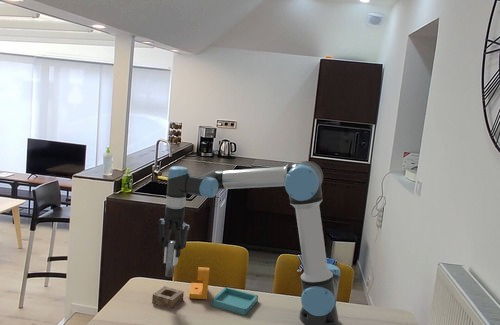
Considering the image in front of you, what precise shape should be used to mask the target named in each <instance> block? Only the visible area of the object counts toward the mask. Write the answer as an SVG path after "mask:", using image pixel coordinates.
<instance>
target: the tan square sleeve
mask: <svg viewBox="0 0 500 325" xmlns="http://www.w3.org/2000/svg"><path fill="white" fill-rule="evenodd" d="M184 294H185V292H184V291H183V290H180V289H176V288H173V287H169V286H166V285H164V286H163V287H161V288H160V289H159V290H157V291H155V292H154V293H153V294H152V298H151V300H152V301H151V303H152V304H155V305H159V306H161V307H165V308H169V309H173V308H175V307H176V306H177V305H178V304H180V303H181V302H182V301H183V300H184Z"/></svg>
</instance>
